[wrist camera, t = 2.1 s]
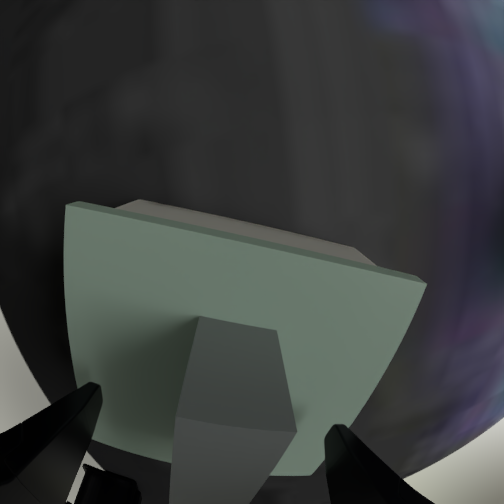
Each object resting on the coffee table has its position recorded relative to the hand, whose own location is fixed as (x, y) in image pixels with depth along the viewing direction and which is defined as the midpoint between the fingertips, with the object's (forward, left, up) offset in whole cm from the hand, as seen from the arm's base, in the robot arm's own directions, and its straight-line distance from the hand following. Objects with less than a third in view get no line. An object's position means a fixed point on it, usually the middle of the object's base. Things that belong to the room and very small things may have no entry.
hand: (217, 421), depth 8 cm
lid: (0, 0, -3) cm, 3 cm away
